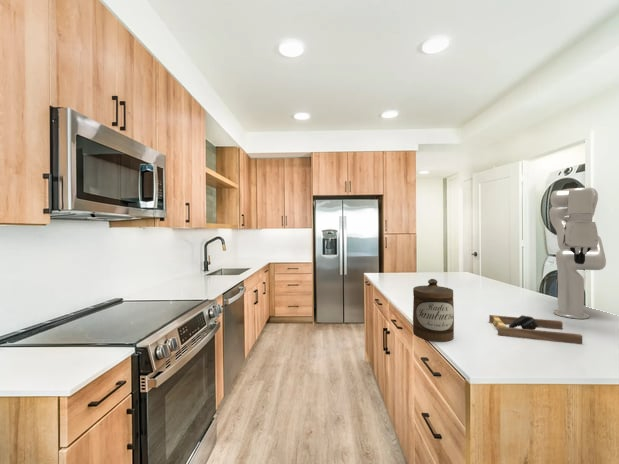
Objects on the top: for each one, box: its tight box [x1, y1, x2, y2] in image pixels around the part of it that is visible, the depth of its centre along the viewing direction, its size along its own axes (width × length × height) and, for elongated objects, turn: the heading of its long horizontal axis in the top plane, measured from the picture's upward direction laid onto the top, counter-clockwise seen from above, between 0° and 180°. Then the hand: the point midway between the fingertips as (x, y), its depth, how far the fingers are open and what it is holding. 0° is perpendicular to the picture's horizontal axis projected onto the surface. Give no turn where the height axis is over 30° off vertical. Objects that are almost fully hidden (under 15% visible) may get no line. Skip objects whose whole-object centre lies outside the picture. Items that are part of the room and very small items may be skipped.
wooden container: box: [412, 278, 455, 343], centre depth 120 cm, size 15×15×22 cm
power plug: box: [508, 314, 539, 330], centre depth 123 cm, size 6×8×12 cm
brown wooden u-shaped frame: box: [488, 314, 583, 345], centre depth 123 cm, size 18×26×3 cm
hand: (579, 263), depth 124 cm, fingers closed
